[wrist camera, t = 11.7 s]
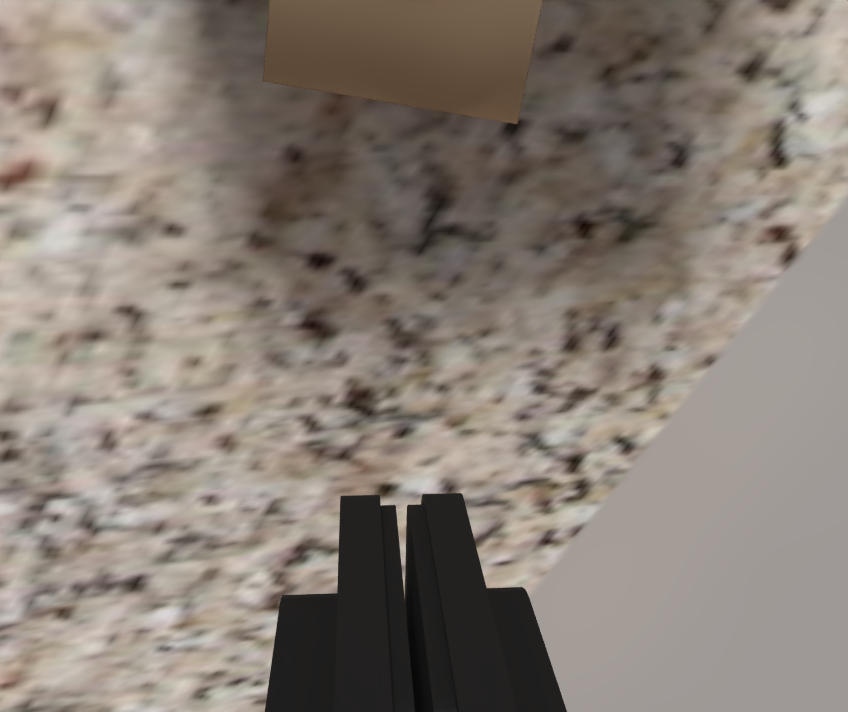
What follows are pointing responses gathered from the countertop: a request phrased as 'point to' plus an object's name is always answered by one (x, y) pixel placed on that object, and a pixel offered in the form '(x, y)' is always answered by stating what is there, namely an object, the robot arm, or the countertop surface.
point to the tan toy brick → (407, 51)
